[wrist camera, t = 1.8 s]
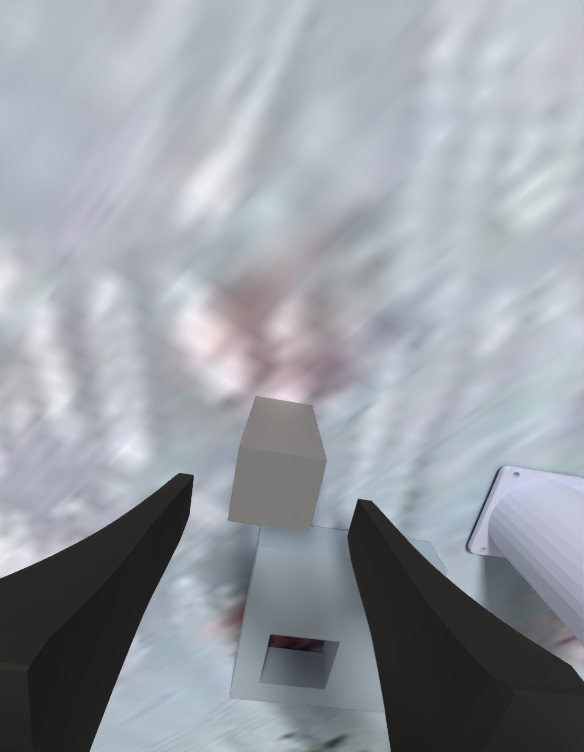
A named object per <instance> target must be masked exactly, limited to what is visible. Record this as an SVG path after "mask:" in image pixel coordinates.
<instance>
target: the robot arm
mask: <svg viewBox="0 0 584 752" xmlns="http://www.w3.org/2000/svg"><path fill="white" fill-rule="evenodd" d="M193 479H194V475H190V474H183V473H179V474H177V475H176V476H175V477H173V478H172V479H171V480H170V481H168V482H167V483H166V484H165V485H163V486H162V487H161V488H160V489H158V490H157V491H156V492H155V493H153V494H152V495H151V496H149V497H148V498H147V499H145V500H144V501H143V502H141V503H140V504H139V505H137V506H136V507H134V508H133V509H132V510H130V511H129V512H127V513H126V514H124V515H123V516H121V517H120V518H118V519H117V520H115V521H114V522H112V523H111V524H109V525H108V526H106V527H104V528H103V529H101V530H99V531H98V532H96V533H94V534H93V535H91V536H89V537H87V538H85V539H84V540H82V541H80V542H78V543H76V544H74V545H72V546H70V547H68V548H66V549H64V550H62V551H60V552H58V553H56V554H54V555H52V556H50V557H48V558H46V559H44V560H42V561H40V562H37V563H35V564H33V565H31V566H29V567H26V568H24V569H22V570H19V571H17V572H15V573H12V574H10V575H8V576H5V577H3V578H0V752H89V751H90V749H91V746H92V743H93V741H94V738H95V735H96V733H97V730H98V728H99V725H100V722H101V720H102V717H103V715H104V712H105V709H106V707H107V704H108V702H109V699H110V696H111V694H112V691H113V689H114V686H115V683H116V681H117V678H118V676H119V673H120V671H121V668H122V666H123V663H124V661H125V658H126V656H127V653H128V651H129V648H130V646H131V643H132V641H133V639H134V636H135V634H136V631H137V629H138V626H139V624H140V621H141V619H142V617H143V614H144V612H145V610H146V608H147V606H148V603H149V601H150V599H151V597H152V595H153V593H154V591H155V589H156V587H157V585H158V583H159V581H160V579H161V577H162V575H163V573H164V571H165V569H166V567H167V565H168V563H169V561H170V559H171V557H172V555H173V553H174V551H175V549H176V547H177V545H178V543H179V541H180V539H181V537H182V534H183V531H184V529H185V526H186V523H187V521H188V518H189V515H190V506H191V497H192V488H193ZM347 539H348V546H349V552H350V558H351V563H352V567H353V571H354V575H355V578H356V582H357V586H358V589H359V593H360V597H361V600H362V604H363V607H364V611H365V615H366V618H367V622H368V626H369V630H370V634H371V638H372V643H373V648H374V653H375V659H376V664H377V669H378V675H379V680H380V686H381V692H382V698H383V703H384V709H385V715H386V722H387V728H388V735H389V741H390V748H391V752H584V681H583V680H582V679H581V677H580V676H579V675H578V674H577V672H576V671H575V670H574V668H573V667H572V666H571V665H569V664H568V663H566V662H564V661H563V660H561V659H560V658H558V657H556V656H555V655H553V654H552V653H550V652H548V651H547V650H545V649H544V648H542V647H540V646H539V645H537V644H536V643H534V642H532V641H531V640H529V639H528V638H526V637H525V636H523V635H522V634H520V633H519V632H517V631H516V630H514V629H513V628H512V627H510V626H509V625H507V624H506V623H504V622H503V621H501V620H500V619H499V618H497V617H496V616H495V615H493V614H492V613H490V612H489V611H488V610H486V609H485V608H484V607H482V606H481V605H480V604H479V603H477V602H476V601H475V600H473V599H472V598H471V597H469V596H468V595H467V594H466V593H464V592H463V591H462V590H461V589H460V588H458V587H457V586H456V585H455V584H454V583H452V582H451V581H450V580H449V579H448V578H447V577H446V576H444V575H443V574H442V573H441V572H440V571H439V570H438V569H436V568H435V567H434V566H433V565H432V564H431V563H430V562H429V561H428V560H427V559H426V558H425V557H424V556H423V555H422V554H421V553H420V552H419V551H418V550H417V549H416V548H415V547H414V546H413V545H412V544H411V543H410V542H409V541H408V540H407V539H406V538H405V537H404V536H403V535H402V534H401V533H400V531H399V530H398V529H397V528H396V527H395V526H394V525H393V524H392V523H391V522H390V520H389V519H388V518H387V517H386V516H385V515H384V514H383V513H382V512H381V510H380V509H379V508H378V507H377V506H376V505H375V504H374V503H373V502H372V501H369V500H362V499H358V501H357V504H356V508H355V511H354V515H353V518H352V522H351V525H350V529H349V532H348V535H347ZM468 549H469V550H470V551H471V552H472V553H474V554H481V555H488V556H495V557H502V558H507V559H508V561H509V562H510V563H511V564H512V565H513V566H514V567H515V568H516V570H517V571H518V572H519V573H520V574H521V575H522V576H523V578H524V579H525V580H526V581H527V582H528V583H529V584H530V586H531V587H532V588H533V589H534V590H535V591H536V592H537V594H538V595H539V596H540V597H541V598H542V599H543V600H544V602H545V603H546V604H547V605H548V606H549V607H550V608H551V610H552V611H553V612H554V613H555V614H556V615H557V616H558V618H559V619H560V620H561V621H562V622H563V623H564V624H565V626H566V627H567V628H568V629H569V630H570V631H571V632H572V634H573V635H574V636H575V637H576V638H577V639H578V640H579V641H580V643H581V644H582V645H583V646H584V478H581V477H575V476H569V475H563V474H557V473H550V472H544V471H538V470H532V469H526V468H520V467H514V466H504V467H502V468H501V469H500V471H499V474H498V476H497V478H496V481H495V483H494V485H493V488H492V490H491V492H490V495H489V497H488V499H487V502H486V504H485V506H484V509H483V511H482V513H481V516H480V518H479V520H478V523H477V525H476V527H475V530H474V532H473V534H472V537H471V539H470V541H469V544H468Z"/></svg>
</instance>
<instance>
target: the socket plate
mask: <svg viewBox="0 0 584 752" xmlns="http://www.w3.org/2000/svg"><path fill="white" fill-rule="evenodd" d="M348 532H349V531H345V530H338V529H331V528H323V527H316V526H310V530H309V532H307V531H300V530H293V529H285V528H278V527H271V526H263V525H260V530H259V535H258V541H257V546H256V551H255V556H254V562H253V567H252V572H251V577H250V583H249V588H248V593H247V598H246V604H245V609H244V614H243V619H242V625H241V630H240V635H239V640H238V645H237V651H236V656H235V661H234V668H233V675H232V682H231V689H230V696H229V698H232V699H243V700H254V701H265V702H276V703H287V704H297V705H308V706H319V707H330V708H341V709H352V710H363V711H373V712H384V713H385V709H384V703H383V698H382V692H381V686H380V680H379V675H378V669H377V664H376V659H375V653H374V648H373V643H372V638H371V634H370V630H369V626H368V622H367V618H366V615H365V611H364V607H363V604H362V600H361V597H360V593H359V589H358V586H357V582H356V578H355V575H354V571H353V567H352V563H351V558H350V552H349V546H348V539H347V535H348ZM407 540H408V541H409V542H410V543H411V544H412V545H413V546H414V547H415V548H416V549H417V550H418V551H419V552H420V553H421V554H422V555H423V556H424V557H425V558H426V559H427V560H428V561H429V562H430V563H431V564H432V565H433V566H434V567H435V568H436V569H438V570H439V571H440V572H441V573H442V574H443V575H444V576H446V574H447V569H446V568H445V566H444V564H443V563H442V561H441V560H440V558H439V556H438V555H437V553H436V551H435V550H434V548H433V547H432V545H431V543H430V542H424V541H417V540H410V539H407ZM270 634H273V635H282V636H291V637H300V638H309V639H318V640H325V642H324V645H323V648H322V652H312V651H302V650H293V649H283V648H274V647H267V646H268V642H269V638H270Z"/></svg>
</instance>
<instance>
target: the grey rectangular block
mask: <svg viewBox="0 0 584 752" xmlns="http://www.w3.org/2000/svg"><path fill="white" fill-rule="evenodd" d="M326 461H327V459H326V456H325V452H324V448H323V444H322V441H321V437H320V433H319V429H318V426H317V422H316V418H315V415H314V411H313V407H312V405H306V404H300V403H294V402H289V401H283V400H277V399H271V398H265V397H259V396H256V397H255V400H254V403H253V406H252V409H251V412H250V415H249V418H248V421H247V424H246V427H245V430H244V433H243V437H242V440H241V443H240V446H239V451H238V457H237V464H236V470H235V477H234V483H233V490H232V496H231V503H230V509H229V516H228V521H234V522H241V523H249V524H256V525H263V526H271V527H278V528H285V529H293V530H300V531H307V532H309V530H310V526H311V522H312V518H313V514H314V510H315V506H316V502H317V498H318V494H319V490H320V486H321V482H322V478H323V473H324V469H325V465H326Z"/></svg>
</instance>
